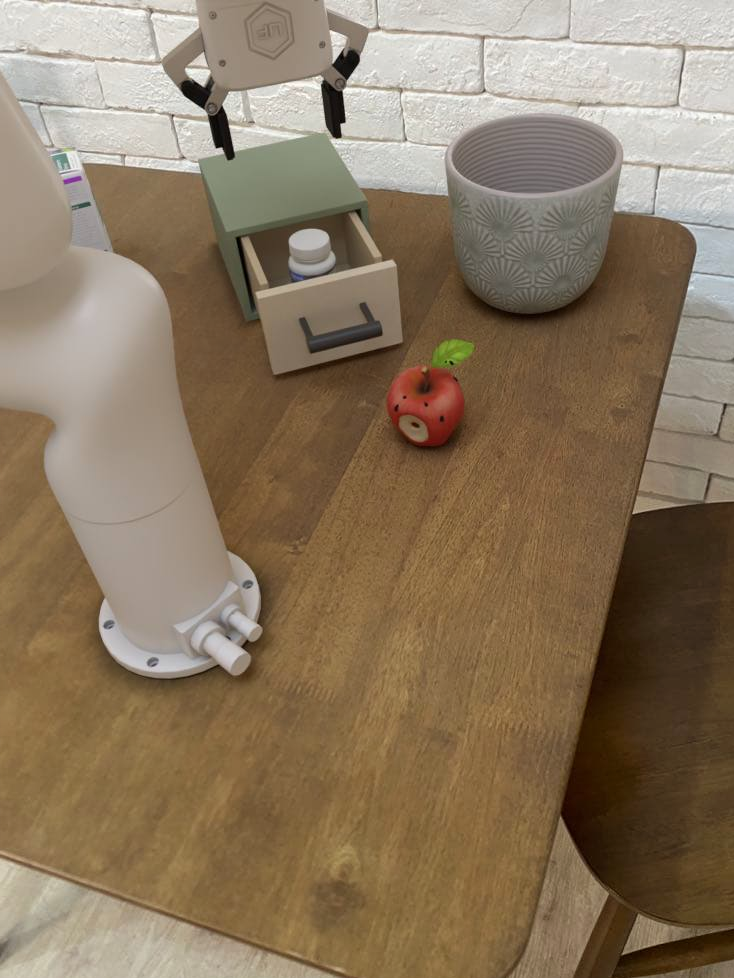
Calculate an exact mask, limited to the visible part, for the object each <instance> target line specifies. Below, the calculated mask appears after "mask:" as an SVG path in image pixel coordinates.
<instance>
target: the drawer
mask: <svg viewBox="0 0 734 978" xmlns="http://www.w3.org/2000/svg"><path fill="white" fill-rule="evenodd" d="M305 229H318V230H322V231H324V232H326V233H327V234H328V236H329V239H330V245H331V251H332V252H333V253H334V255H335V257H336V264H337V272H338V273H334V274H330V275H325V276H321V277H317V278H313V279H309V280H304V281H300V282H296V283H292V282H291V276H290V271H289V264H288V263H289V258H290V256H291V254H290V249H289V238H290V237H291V236H292V235H293V234H294V233H296V232H298V231H301V230H305ZM237 239H238V244H239V248H240V253H241V258H242V262H243V267H244V271H245V276H246V280H247V285H248V289H249V292H250V294H251V297H252V299H253V302H254V305H255V307H256V310H257V312H258V315H259V317H260V319H259V320H260V323H261V326H262V331H263V335H264V340H265V345H266V350H267V354H268V359H269V363H270V368H271V371H272V374H273V375H274V376H276V375H280V374H283V373H288V372H292V371H295V370H300V369H304V368H307V367H312V366H315V365H319V364H324V363H327V362H332V361H335V360H339V359H343V358H347V357H351V356H355V355H358V354H362V353H366V352H370V351H374V350H379V349H382V348H387V347H390V346H394V345H395V346H396V345H398V344H402V343H404V339H403V327H402V325H403V324H402V313H401V302H400V301H401V300H400V291H399V288H400V287H399V279H398V278H399V277H398V276H399V275H398V266H397V264H396V262H395V260H394V259H389V260H385V261H383V256H382V253H381V252H380V250H379V249H378V247H377V245H376V244H375V242H374V240H373V239H372V236H371V237H370V235H369V234H368V232H367V230H366V228H365V227H364V225H363V223H362V222H361V220H360V218H359V217H358V215H357V213H356V212H355V210H352V211H348V212H343V213H339V214H334V215H330V216H326V217H321V218H317V219H312V220H308V221H304V222H299V223H295V224H290V225H286V226H282V227H277V228H273V229H269V230H264V231H260V232H255V233H251V234H247V235H242V236H238V237H237Z"/></svg>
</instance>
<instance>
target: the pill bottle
mask: <svg viewBox="0 0 734 978" xmlns="http://www.w3.org/2000/svg"><path fill="white" fill-rule="evenodd" d="M289 249H290V254H291V256H290V258H289V263H288V264H289V271H290V276H291V282H292V283H296V282H300V281H304V280H309V279H313V278H317V277H321V276H325V275H330V274H334V273H338V272H337V264H336V257H335V255H334V253H333V252H332V251H331V245H330V239H329V236H328V234H327V233H326V232H324V231H322V230H318V229H305V230H301V231H298V232H296V233H294V234H293V235H292V236H291V237H290V238H289Z"/></svg>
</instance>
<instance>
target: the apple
mask: <svg viewBox="0 0 734 978" xmlns="http://www.w3.org/2000/svg"><path fill="white" fill-rule="evenodd" d="M474 346H475V343H473V342H469V341H465V340H462V339H456V338H452V339H451V340H445V341H443V342H441V343H440V344H439V346H437V347H436V348H435V350H434V352H433V355H432V359H431V364H429V365H428V364H423V365H422V364H421V365H416V366H412V367H409V368H407V369H405V370H404V371H402V372H401V373H400V374H399V375H397V377H396V378H395V379H394V381H393V382H392V384H391V385H390V387H389V390H388V393H387V397H386V408H387V412H388V416H389V418H390V420H391V422H392V424H393V425H394V427H395V428H396V429H397V430H398V431H399V433H401V434H402V435H403V436H404V437H405V438H406V439H407V440H408V441H409V442H411V444H414V445H416V446H419V447H439V446H441V445H443V444H444V443H446V442H447V441H448V439H449V438H450V437H451V435H452V433H453V432H454V430H455V428H456V427H457V426H458V425H459V424H460V421H461V420H462V419H463V416H464V412H465V409H466V401H465V396H464V392H463V390H462V388H461V385H460V383H459V379H458V378H457V377H456V376H454V375H453V374H452V373H451V372H450V371H449V370H447V369H445V368H451V367H455V366H459V365H461V364H462V362H463V361H466V360H467V359H468V358H469V357H470V356H471V355H472V353H474V352H473V351H474Z"/></svg>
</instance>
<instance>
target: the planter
mask: <svg viewBox="0 0 734 978" xmlns="http://www.w3.org/2000/svg"><path fill="white" fill-rule="evenodd" d="M623 162H624V148H623V146H622V144H621V142H620V141H619V139H618V138H617V137H616V135H614V133H612V132H611V131H609V130H608V129H606V128H605V127H603V126H602V125H599V124H597V123H595V122H593V121H590V120H587V119H583V118H580V117H577V116H572V115H567V114H560V113H559V114H558V113H549V112H528V113H517V114H509V115H503V116H499V117H494V118H491V119H487V120H485V121H482V122H479V123H476V124H474V125H472V126H470V127H468V128H467V129H465V130H463V131H462V132H460V133H459V134H458V135H456V136H455V137H454V138H453V139H452V140H451V142H449V144H448V146H447V147H446V150H445V153H444V168H445V176H446V186H447V197H448V205H449V213H450V223H451V233H452V242H453V250H454V257H455V259H456V264H457V267H458V270H459V272H460V274H461V276H462V279H463V281H464V282H465V284H466V286H467V287H468V288H469V290H471V293H473V294H474V295H475V296H477V298H478V299H480V300H481V301H483V302H484V303H485V304H487V305H489V306H491V307H492V308H495V309H498V310H501V311H505V312H509V313H513V314H514V313H515V314H520V315H521V314H523V315H532V314H535V315H536V314H541V313H547V312H551V311H556V310H558V309H561V308H563V307H565V306H568V305H570V303H572V302H574V301H575V300H577V299H578V298H579V297H580V296H582V295H583V294H584V293H585V292H586V291H587V290H588V289H589V288H590V287H591V285H592V283H593V282H594V281H595V279H596V277H597V275H598V274H599V272H600V270H601V267H602V265H603V262H604V258H605V257H606V252H607V247H608V243H609V236H610V231H611V227H612V222H613V221H612V220H613V217H614V211H615V205H616V201H617V200H616V199H617V195H618V189H619V185H620V179H621V173H622V168H623Z"/></svg>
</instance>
